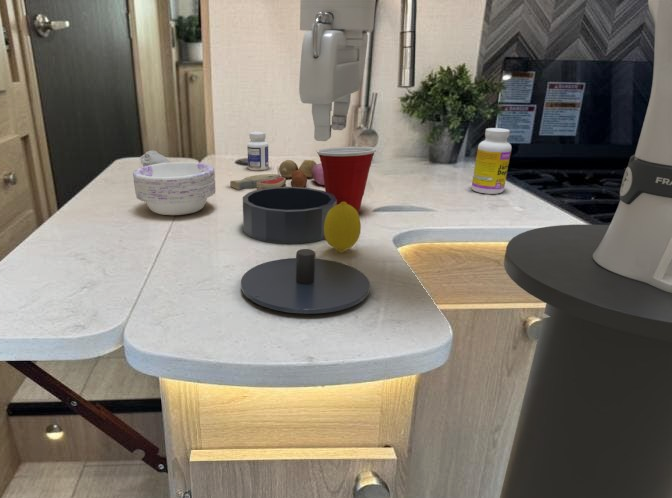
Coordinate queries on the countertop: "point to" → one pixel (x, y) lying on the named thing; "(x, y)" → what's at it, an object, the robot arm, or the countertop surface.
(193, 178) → the paper bowls
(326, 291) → the lid
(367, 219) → the countertop surface
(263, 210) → the pot
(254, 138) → the pill bottle
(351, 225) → the lemon
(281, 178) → the toy food set
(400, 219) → the countertop surface
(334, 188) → the plastic cup
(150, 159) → the frog figurine
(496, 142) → the supplement bottle
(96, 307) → the countertop surface
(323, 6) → the robot arm
